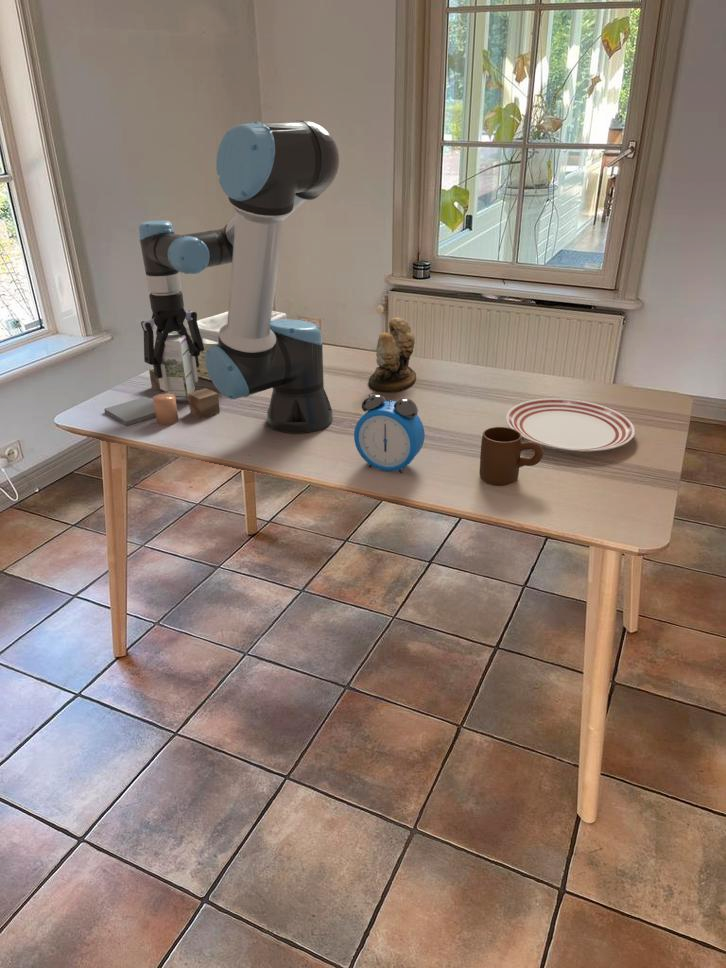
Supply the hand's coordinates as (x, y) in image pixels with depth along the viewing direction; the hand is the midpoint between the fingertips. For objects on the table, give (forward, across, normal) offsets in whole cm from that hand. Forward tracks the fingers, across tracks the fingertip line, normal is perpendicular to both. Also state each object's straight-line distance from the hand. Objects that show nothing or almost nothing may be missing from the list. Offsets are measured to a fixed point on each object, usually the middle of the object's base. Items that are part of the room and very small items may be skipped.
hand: (179, 385), depth 179 cm
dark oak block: (+4, -2, -12) cm, 12 cm away
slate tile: (+4, +12, -2) cm, 12 cm away
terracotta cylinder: (+4, +9, +8) cm, 13 cm away
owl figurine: (+5, -47, +28) cm, 55 cm away
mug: (+6, -23, +82) cm, 86 cm away
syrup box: (+2, 0, 0) cm, 2 cm away
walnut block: (+4, 0, +10) cm, 11 cm away
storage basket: (+4, -24, -8) cm, 25 cm away
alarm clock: (+5, -11, +62) cm, 63 cm away
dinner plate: (+6, -50, +78) cm, 93 cm away
